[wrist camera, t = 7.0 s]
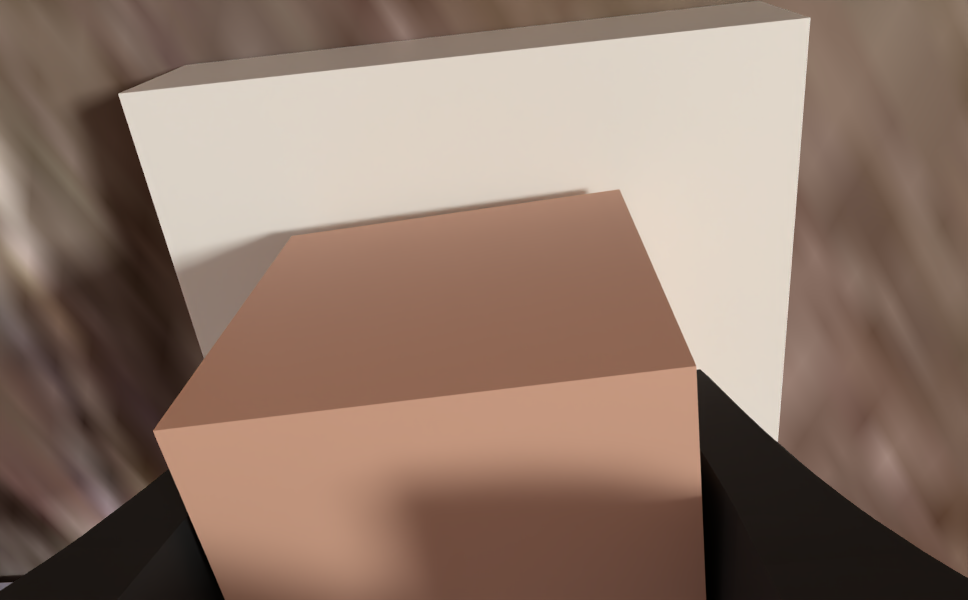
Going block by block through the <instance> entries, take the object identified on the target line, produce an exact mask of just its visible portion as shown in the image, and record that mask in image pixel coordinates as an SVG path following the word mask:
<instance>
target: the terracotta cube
mask: <svg viewBox="0 0 968 600" xmlns="http://www.w3.org/2000/svg"><path fill="white" fill-rule="evenodd" d="M153 432H154V435H155V437H156V439H157V442H158V444H159V446H160V449H161V451H162V453H163V456H164V458H165V460H166V463H167V465H168V468H169V470H170V472H171V475H172V477H173V479H174V482H175V484H176V486H177V489H178V491H179V493H180V496H181V498H182V500H183V503H184V505H185V507H186V510H187V512H188V514H189V517H190V519H191V521H192V524H193V526H194V528H195V531H196V533H197V535H198V538H199V540H200V542H201V545H202V547H203V549H204V552H205V554H206V556H207V559H208V561H209V563H210V566H211V568H212V570H213V573H214V575H215V578H216V580H217V582H218V585H219V587H220V589H221V592H222V594H223V596H224V599H225V600H706V584H705V560H704V536H703V512H702V488H701V465H700V441H699V417H698V393H697V369H696V364H695V362H694V359H693V357H692V355H691V353H690V350H689V348H688V346H687V343H686V341H685V339H684V336H683V334H682V332H681V330H680V327H679V325H678V323H677V320H676V318H675V316H674V313H673V311H672V309H671V307H670V304H669V302H668V300H667V297H666V295H665V293H664V290H663V288H662V286H661V284H660V281H659V279H658V277H657V274H656V272H655V270H654V268H653V265H652V263H651V261H650V258H649V256H648V254H647V251H646V249H645V247H644V245H643V242H642V240H641V238H640V235H639V233H638V231H637V228H636V226H635V224H634V222H633V219H632V217H631V215H630V212H629V210H628V208H627V205H626V203H625V201H624V199H623V196H622V194H621V192H620V189H618V190H611V191H604V192H597V193H590V194H583V195H576V196H569V197H562V198H555V199H548V200H541V201H534V202H527V203H520V204H513V205H506V206H499V207H492V208H485V209H478V210H471V211H464V212H457V213H450V214H443V215H436V216H429V217H422V218H415V219H408V220H401V221H394V222H387V223H380V224H373V225H366V226H359V227H352V228H345V229H338V230H331V231H323V232H316V233H309V234H302V235H295V236H291V237H290V239H289V240H288V242H287V243H286V245H285V246H284V247H283V249H282V250H281V252H280V253H279V254H278V256H277V257H276V259H275V260H274V261H273V263H272V264H271V266H270V267H269V268H268V270H267V271H266V273H265V274H264V275H263V277H262V278H261V280H260V281H259V282H258V284H257V285H256V287H255V288H254V289H253V291H252V292H251V294H250V295H249V296H248V298H247V299H246V301H245V302H244V303H243V305H242V306H241V308H240V309H239V311H238V312H237V313H236V315H235V316H234V318H233V319H232V320H231V322H230V323H229V325H228V326H227V327H226V329H225V330H224V332H223V333H222V334H221V336H220V337H219V339H218V340H217V341H216V343H215V344H214V346H213V347H212V348H211V350H210V351H209V353H208V354H207V355H206V357H205V358H204V360H203V361H202V362H201V364H200V365H199V367H198V368H197V370H196V371H195V372H194V374H193V375H192V377H191V378H190V379H189V381H188V382H187V384H186V385H185V386H184V388H183V389H182V391H181V392H180V393H179V395H178V396H177V398H176V399H175V400H174V402H173V403H172V405H171V406H170V407H169V409H168V410H167V412H166V413H165V414H164V416H163V417H162V419H161V420H160V421H159V423H158V424H157V426H156V427H155V428H154V430H153Z"/></svg>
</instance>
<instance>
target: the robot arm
mask: <svg viewBox="0 0 968 600" xmlns="http://www.w3.org/2000/svg"><path fill="white" fill-rule="evenodd" d="M697 393H698V417H699V441H700V465H701V488H702V512H703V536H704V560H705V584H706V600H968V578H967V577H965V576H963V575H961V574H960V573H958V572H956V571H955V570H953V569H951V568H950V567H948V566H946V565H945V564H943V563H941V562H940V561H938V560H936V559H935V558H933V557H932V556H930V555H928V554H927V553H925V552H923V551H922V550H920V549H919V548H917V547H916V546H914V545H913V544H911V543H910V542H908V541H907V540H905V539H904V538H902V537H901V536H899V535H898V534H896V533H895V532H893V531H892V530H890V529H889V528H887V527H886V526H884V525H883V524H881V523H880V522H878V521H877V520H875V519H874V518H872V517H871V516H869V515H868V514H867V513H865V512H864V511H862V510H861V509H860V508H858V507H857V506H855V505H854V504H853V503H851V502H850V501H849V500H847V499H846V498H845V497H843V496H842V495H841V494H839V493H838V492H837V491H836V490H834V489H833V488H832V487H830V486H829V485H828V484H827V483H825V482H824V481H823V480H821V479H820V478H819V477H817V476H816V475H815V474H814V473H813V472H811V471H810V470H809V469H808V468H807V467H805V466H804V465H803V464H802V463H801V462H799V461H798V460H797V459H796V458H795V457H794V456H793V455H792V454H790V453H789V452H788V451H787V450H786V449H785V448H784V447H782V446H781V445H780V444H779V443H778V442H777V441H776V440H774V439H773V438H772V437H771V436H770V435H769V434H768V433H767V432H765V431H764V430H763V429H762V428H761V427H760V426H759V425H758V424H757V423H756V422H755V421H754V420H753V419H752V418H750V417H749V416H748V415H747V414H746V413H745V412H744V411H743V410H742V409H741V408H740V407H739V406H738V405H737V404H736V403H735V402H734V401H733V400H732V399H731V398H730V397H729V396H728V395H727V394H726V393H725V392H724V391H723V390H722V389H721V388H720V387H719V386H718V385H717V384H716V383H715V382H714V381H713V380H712V379H711V378H710V377H709V376H707V375H706V374H705V373H704V372H703V371H702V370H701V369H698V370H697ZM0 600H225V599H224V596H223V594H222V592H221V589H220V587H219V585H218V582H217V580H216V578H215V575H214V573H213V570H212V568H211V566H210V563H209V561H208V559H207V556H206V554H205V552H204V549H203V547H202V545H201V542H200V540H199V538H198V535H197V533H196V531H195V528H194V526H193V524H192V521H191V519H190V517H189V514H188V512H187V510H186V507H185V505H184V503H183V500H182V498H181V496H180V493H179V491H178V489H177V486H176V484H175V482H174V479H173V477H172V475H171V472H170V470H169V469H168V470H167V471H166V472H164V473H163V474H162V475H161V476H159V477H158V478H157V479H156V480H155V481H153V482H152V483H151V484H150V485H148V486H147V487H146V488H145V489H143V490H142V491H141V492H139V493H138V494H137V495H135V496H134V497H133V498H131V499H130V500H129V501H127V502H126V503H125V504H124V505H122V506H121V507H120V508H118V509H117V510H116V511H114V512H113V513H112V514H110V515H109V516H108V517H106V518H105V519H104V520H102V521H101V522H100V523H98V524H97V525H96V526H94V527H93V528H92V529H91V530H89V531H88V532H87V533H85V534H84V535H83V536H81V537H80V538H78V539H77V540H76V541H74V542H73V543H71V544H70V545H68V546H67V547H66V548H64V549H63V550H61V551H60V552H58V553H57V554H55V555H54V556H52V557H51V558H50V559H48V560H47V561H45V562H44V563H42V564H41V565H39V566H37V567H36V568H34V569H33V570H31V571H30V572H28V573H27V574H25V575H24V576H22V577H20V578H19V579H17V580H16V581H14V582H8V583H0Z"/></svg>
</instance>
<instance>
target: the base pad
mask: <svg viewBox="0 0 968 600" xmlns="http://www.w3.org/2000/svg"><path fill="white" fill-rule="evenodd" d="M809 29H810V17H807V16H804V15H801V14H798V13H795V12H792V11H789V10H786V9H783V8H780V7H777V6H774V5H771V4H768V3H765V2H762V1H751V2H742V3H733V4H724V5H715V6H706V7H697V8H689V9H680V10H671V11H662V12H653V13H644V14H635V15H626V16H618V17H609V18H600V19H591V20H582V21H573V22H564V23H555V24H547V25H538V26H529V27H520V28H511V29H502V30H493V31H484V32H475V33H467V34H458V35H449V36H440V37H431V38H422V39H413V40H404V41H396V42H387V43H378V44H369V45H360V46H351V47H342V48H333V49H325V50H316V51H307V52H298V53H289V54H280V55H271V56H262V57H254V58H245V59H236V60H227V61H218V62H209V63H200V64H191V65H184V66H182V67H180V68H177V69H175V70H173V71H170V72H168V73H166V74H163V75H161V76H159V77H156V78H154V79H152V80H149V81H147V82H145V83H142V84H140V85H137V86H135V87H133V88H130V89H128V90H126V91H123V92H121V93H119V94H118V95H119V98H120V101H121V104H122V107H123V110H124V114H125V117H126V120H127V123H128V126H129V129H130V132H131V135H132V138H133V141H134V144H135V148H136V151H137V154H138V157H139V160H140V163H141V166H142V169H143V172H144V175H145V178H146V182H147V185H148V188H149V191H150V194H151V197H152V200H153V203H154V206H155V209H156V212H157V216H158V219H159V222H160V225H161V228H162V231H163V234H164V237H165V240H166V243H167V246H168V249H169V253H170V256H171V259H172V262H173V265H174V268H175V271H176V274H177V277H178V280H179V283H180V287H181V290H182V293H183V296H184V299H185V302H186V305H187V308H188V311H189V314H190V317H191V321H192V324H193V327H194V330H195V333H196V336H197V339H198V342H199V345H200V348H201V351H202V355H203V358H205V357H206V355H207V354H208V353H209V351H210V350H211V348H212V347H213V346H214V344H215V343H216V341H217V340H218V339H219V337H220V336H221V334H222V333H223V332H224V330H225V329H226V327H227V326H228V325H229V323H230V322H231V320H232V319H233V318H234V316H235V315H236V313H237V312H238V311H239V309H240V308H241V306H242V305H243V303H244V302H245V301H246V299H247V298H248V296H249V295H250V294H251V292H252V291H253V289H254V288H255V287H256V285H257V284H258V282H259V281H260V280H261V278H262V277H263V275H264V274H265V273H266V271H267V270H268V268H269V267H270V266H271V264H272V263H273V261H274V260H275V259H276V257H277V256H278V254H279V253H280V252H281V250H282V249H283V247H284V246H285V245H286V243H287V242H288V240H289V239H290V237H291V236H295V235H302V234H309V233H316V232H323V231H331V230H338V229H345V228H352V227H359V226H366V225H373V224H380V223H387V222H394V221H401V220H408V219H415V218H422V217H429V216H436V215H443V214H450V213H457V212H464V211H471V210H478V209H485V208H492V207H499V206H506V205H513V204H520V203H527V202H534V201H541V200H548V199H555V198H562V197H569V196H576V195H583V194H590V193H597V192H604V191H611V190H618V189H620V192H621V194H622V196H623V199H624V201H625V203H626V205H627V208H628V210H629V212H630V215H631V217H632V219H633V222H634V224H635V226H636V228H637V231H638V233H639V235H640V238H641V240H642V242H643V245H644V247H645V249H646V251H647V254H648V256H649V258H650V261H651V263H652V265H653V268H654V270H655V272H656V274H657V277H658V279H659V281H660V284H661V286H662V288H663V290H664V293H665V295H666V297H667V300H668V302H669V304H670V307H671V309H672V311H673V313H674V316H675V318H676V320H677V323H678V325H679V327H680V330H681V332H682V334H683V336H684V339H685V341H686V343H687V346H688V348H689V350H690V353H691V355H692V357H693V359H694V362H695V364H696V369H697V370H698V369H701V370H702V371H703V372H704V373H705V374H706V375H707V376H709V377H710V378H711V379H712V380H713V381H714V382H715V383H716V384H717V385H718V386H719V387H720V388H721V389H722V390H723V391H724V392H725V393H726V394H727V395H728V396H729V397H730V398H731V399H732V400H733V401H734V402H735V403H736V404H737V405H738V406H739V407H740V408H741V409H742V410H743V411H744V412H745V413H746V414H747V415H748V416H749V417H750V418H752V419H753V420H754V421H755V422H756V423H757V424H758V425H759V426H760V427H761V428H762V429H763V430H764V431H765V432H767V433H768V434H769V435H770V436H771V437H772V438H773V439H774V440H776V441H777V442H778V432H779V419H780V406H781V393H782V380H783V367H784V354H785V341H786V328H787V315H788V302H789V289H790V276H791V263H792V250H793V237H794V224H795V211H796V198H797V185H798V172H799V159H800V146H801V133H802V120H803V107H804V94H805V81H806V68H807V55H808V42H809Z"/></svg>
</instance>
